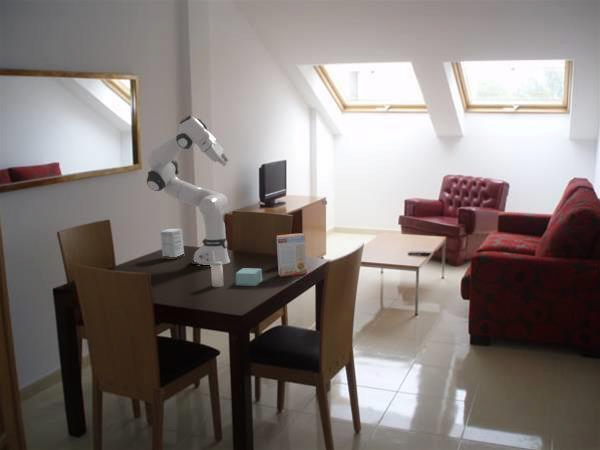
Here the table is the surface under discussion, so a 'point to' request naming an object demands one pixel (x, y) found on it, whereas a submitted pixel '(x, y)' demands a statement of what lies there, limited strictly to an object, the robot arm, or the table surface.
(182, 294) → the table surface
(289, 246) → the cracker box
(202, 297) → the table surface
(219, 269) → the canister
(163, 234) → the white carton
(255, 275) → the plinth
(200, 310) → the table surface
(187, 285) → the table surface
